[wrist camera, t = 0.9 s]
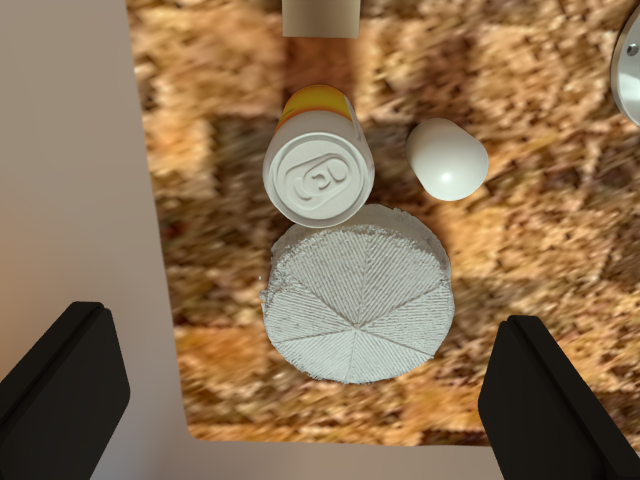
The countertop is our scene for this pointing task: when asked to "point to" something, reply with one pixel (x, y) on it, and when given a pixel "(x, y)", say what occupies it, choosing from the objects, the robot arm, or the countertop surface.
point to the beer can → (318, 159)
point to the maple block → (321, 18)
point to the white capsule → (446, 159)
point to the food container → (359, 296)
